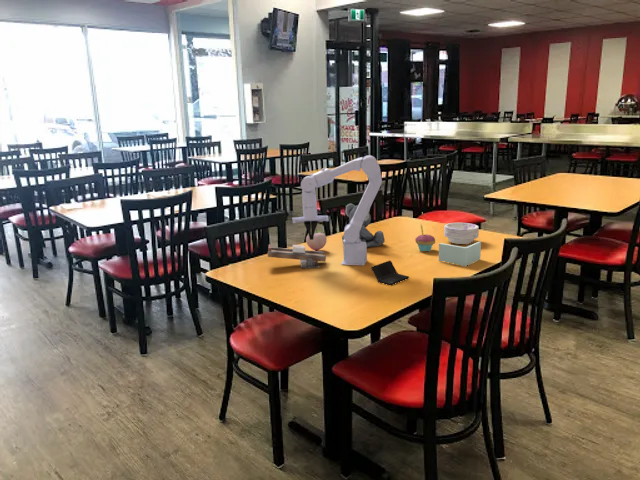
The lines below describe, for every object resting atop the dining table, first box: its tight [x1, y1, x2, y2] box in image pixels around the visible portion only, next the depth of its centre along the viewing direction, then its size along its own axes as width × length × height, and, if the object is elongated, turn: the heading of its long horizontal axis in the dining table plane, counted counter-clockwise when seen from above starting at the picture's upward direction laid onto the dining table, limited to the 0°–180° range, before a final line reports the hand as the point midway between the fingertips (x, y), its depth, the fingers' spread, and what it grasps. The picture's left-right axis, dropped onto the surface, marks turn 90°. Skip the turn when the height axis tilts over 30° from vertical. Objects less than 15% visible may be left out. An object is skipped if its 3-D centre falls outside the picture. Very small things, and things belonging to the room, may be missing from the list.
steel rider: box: [291, 244, 306, 254], centre depth 209 cm, size 5×4×3 cm
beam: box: [267, 244, 327, 263], centre depth 209 cm, size 23×7×4 cm, turn 95°
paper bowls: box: [443, 222, 480, 245], centre depth 235 cm, size 15×15×8 cm
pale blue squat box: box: [438, 241, 482, 267], centre depth 207 cm, size 12×12×8 cm
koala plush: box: [341, 203, 385, 248], centre depth 236 cm, size 17×18×20 cm
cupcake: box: [414, 224, 436, 252], centre depth 223 cm, size 9×8×12 cm
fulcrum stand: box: [299, 258, 320, 270], centre depth 211 cm, size 7×10×4 cm
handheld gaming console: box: [370, 260, 410, 286], centre depth 188 cm, size 12×7×10 cm
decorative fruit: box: [305, 229, 328, 251], centre depth 229 cm, size 9×8×10 cm
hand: (311, 239), depth 210 cm, fingers closed
